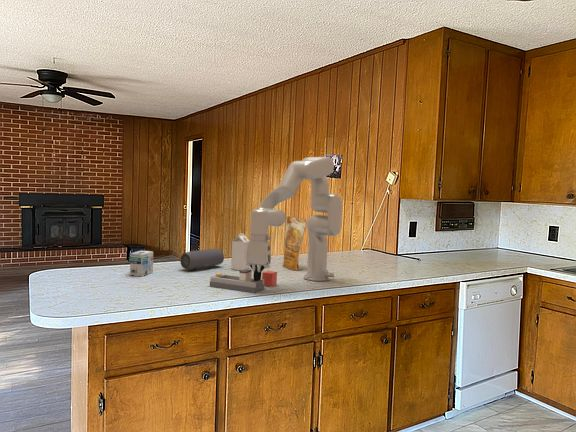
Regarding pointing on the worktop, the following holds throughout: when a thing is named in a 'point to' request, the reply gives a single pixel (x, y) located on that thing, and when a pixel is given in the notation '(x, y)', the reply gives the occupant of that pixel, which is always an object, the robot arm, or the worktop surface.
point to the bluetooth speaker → (201, 259)
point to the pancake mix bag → (293, 241)
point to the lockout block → (269, 278)
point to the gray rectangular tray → (236, 283)
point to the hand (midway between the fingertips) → (257, 280)
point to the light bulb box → (141, 263)
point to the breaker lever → (245, 275)
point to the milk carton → (239, 252)
